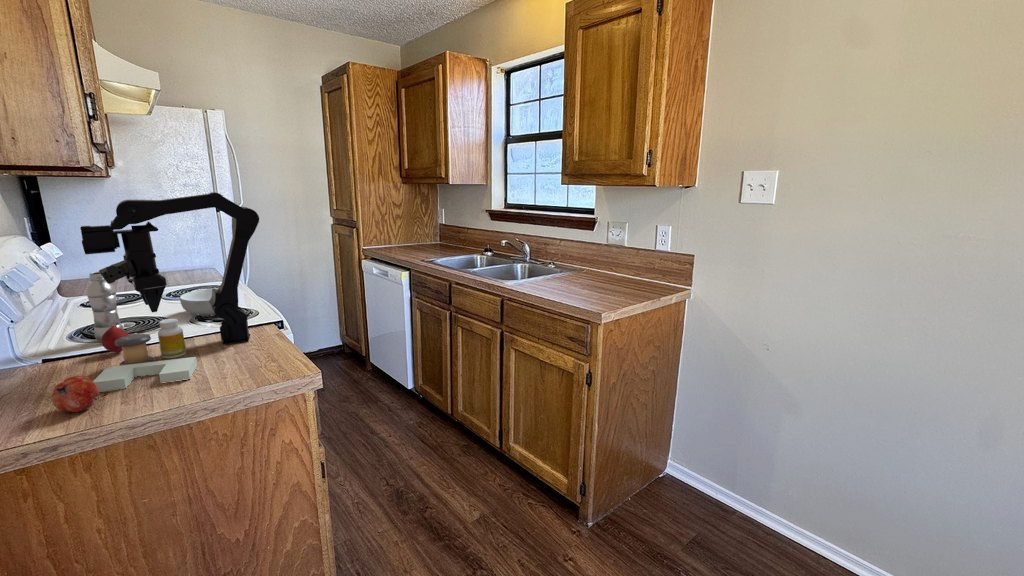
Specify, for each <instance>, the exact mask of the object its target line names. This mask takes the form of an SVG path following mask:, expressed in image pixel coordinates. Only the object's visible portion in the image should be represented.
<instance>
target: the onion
mask: <svg viewBox="0 0 1024 576" xmlns="http://www.w3.org/2000/svg"><path fill="white" fill-rule="evenodd" d="M129 335H130V334H129V333H128V332H127V331H126V330H122V329H120V328H117V325H112V326H111V327H110V329H109V330H107V331H106V332H105V333H104V334H103V336H102V339H101V342H100V343H101V345H102V347H103V348H104V349H105V350H107V351H109V352H112V353H116V354H120V353H123V351H122V347H120V346H116V345H115V340H117V339H119V338H121V337H124V336H129Z"/></svg>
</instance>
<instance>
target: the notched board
mask: <svg viewBox="0 0 1024 576" xmlns="http://www.w3.org/2000/svg"><path fill="white" fill-rule="evenodd" d="M197 361H198V360H197V357H196V356H191V357H184V358H183V357H182V358H172V359H165V360H158V361H155V362H147V363H139V364H130V365H122V366H120V365H117V366H115V365H113V366H107V367H105V368H104V370H103V371H101V373H100V374H99V375H98V376H96V378H94V380H92V381H93V382H94V383H95V384H96V386H97V387H98V390H99V393H105V392H111V391H118V390H119V389H120V390H125V388H126V389H128V387H129V386H128V385H130V384H131V383H132V382H133V381H134V379H135V378H138V377H137V376H141V377H146V376H145V375H149V376H153V375H152V374H157V375H159V381H160V384H161V383H163V382H170V381H176V380H183V379H190V377H191V376H192V377H193V375H194V374H193V372H194V370H195V369H197V368H198V362H197ZM196 367H197V368H196ZM195 371H196V370H195ZM194 373H195V372H194ZM192 374H193V375H192ZM134 377H135V378H134ZM192 377H191V378H192ZM132 380H133V381H132ZM190 380H191V379H190ZM131 381H132V382H131ZM127 386H128V387H127Z"/></svg>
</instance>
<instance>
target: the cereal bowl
mask: <svg viewBox="0 0 1024 576" xmlns="http://www.w3.org/2000/svg"><path fill="white" fill-rule="evenodd" d="M212 289H216V290H218V289H219V287H214V288H212V287H211V288H204V289H197V290H193V291H189V292H186V293H183V294H181V295H180V297H179V301H180V304H181V307H182V309H183V310H185V311H186V312H188V313H189V314H194V315H198V316H199V317H200V316H201V317H210V316H209V315H216V314H215V312H214V311H213V309H212V307H211V304H210V302H209V301H210V299H211V297H212ZM216 316H217V315H216Z"/></svg>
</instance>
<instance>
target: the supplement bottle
mask: <svg viewBox="0 0 1024 576" xmlns="http://www.w3.org/2000/svg"><path fill="white" fill-rule="evenodd" d="M158 323H159V328H160V329H159V330H158V331H157V337H158V343H159V348H160V354H161V357H162V358H164V359H178V358H180V357H183V356H184V355H186V354H187V349H186V343H185V337H184V331H183V328H182V327H181V326H179V320H178V319H177V318H166V319H163V320H160V321H159V322H158Z"/></svg>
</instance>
